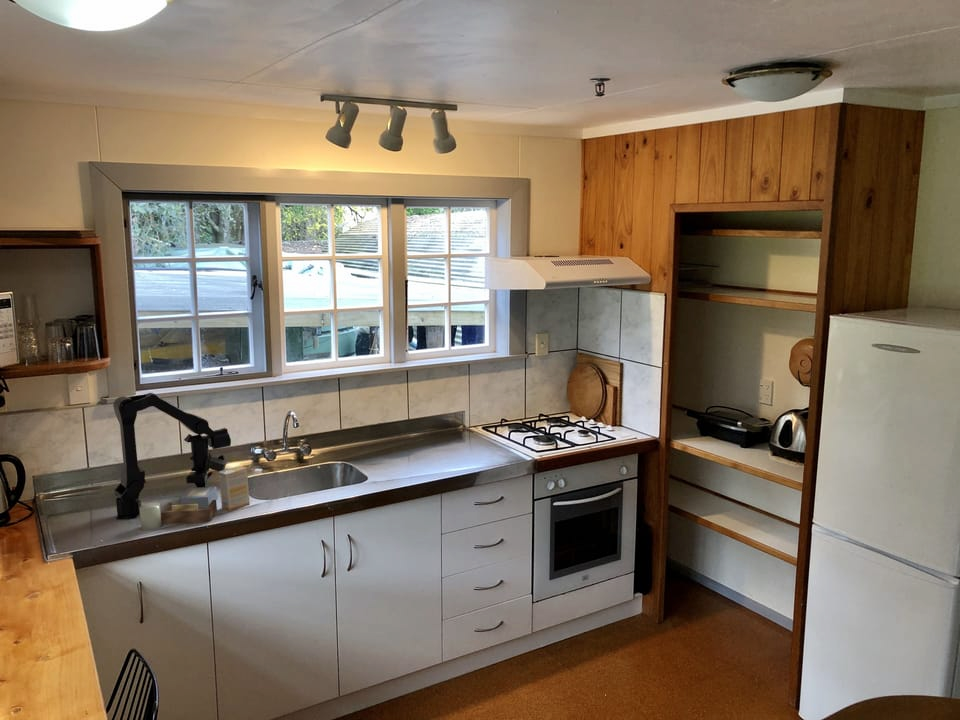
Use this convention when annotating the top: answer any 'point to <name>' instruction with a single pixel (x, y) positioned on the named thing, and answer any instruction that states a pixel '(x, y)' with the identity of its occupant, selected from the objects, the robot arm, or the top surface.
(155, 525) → the frosted glass jar
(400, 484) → the top surface
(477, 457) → the top surface
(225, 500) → the supplement box
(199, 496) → the carton
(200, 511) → the wooden tray
